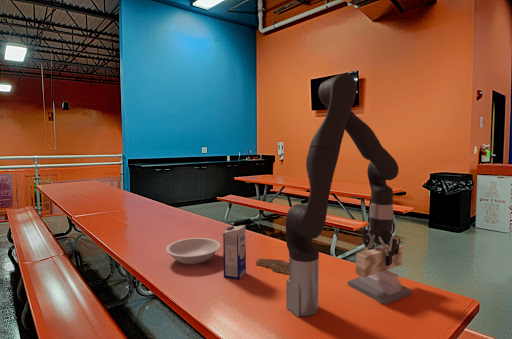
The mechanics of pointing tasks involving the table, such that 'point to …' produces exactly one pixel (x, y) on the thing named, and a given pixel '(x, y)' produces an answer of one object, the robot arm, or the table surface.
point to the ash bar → (375, 261)
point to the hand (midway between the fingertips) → (379, 261)
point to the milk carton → (234, 252)
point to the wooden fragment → (274, 265)
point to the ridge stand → (381, 286)
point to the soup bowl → (193, 250)
